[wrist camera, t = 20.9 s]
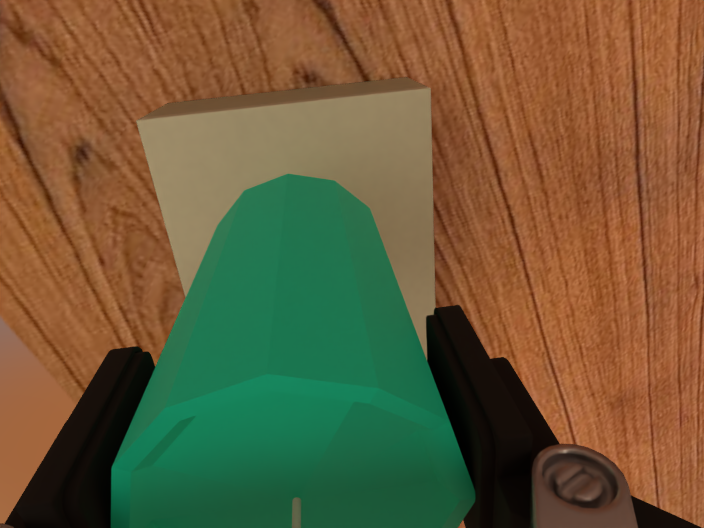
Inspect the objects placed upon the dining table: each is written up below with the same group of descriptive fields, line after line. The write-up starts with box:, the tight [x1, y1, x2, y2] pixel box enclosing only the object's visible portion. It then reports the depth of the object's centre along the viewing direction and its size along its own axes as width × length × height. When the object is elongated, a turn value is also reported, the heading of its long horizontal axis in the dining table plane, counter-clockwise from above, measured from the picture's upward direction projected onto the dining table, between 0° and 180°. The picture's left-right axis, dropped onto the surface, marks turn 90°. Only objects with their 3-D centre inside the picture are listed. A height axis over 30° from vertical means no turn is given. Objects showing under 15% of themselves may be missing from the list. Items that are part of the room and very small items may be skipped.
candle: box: [111, 174, 475, 528], centre depth 12 cm, size 6×6×12 cm
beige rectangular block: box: [136, 77, 436, 359], centre depth 26 cm, size 12×18×5 cm, turn 5°
